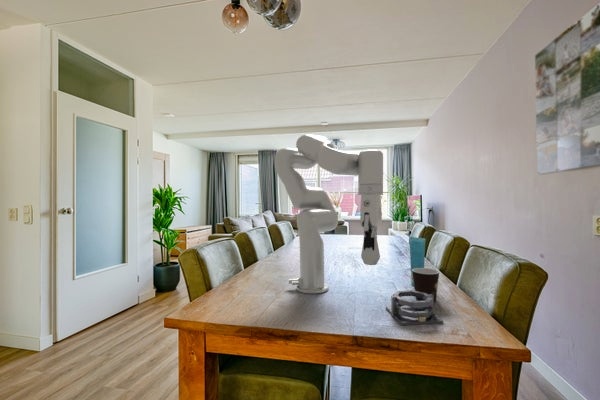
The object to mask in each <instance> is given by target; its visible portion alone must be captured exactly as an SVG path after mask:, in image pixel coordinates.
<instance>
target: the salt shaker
mask: <svg viewBox="0 0 600 400" xmlns="http://www.w3.org/2000/svg"><path fill="white" fill-rule="evenodd" d="M369 227H372V225H369ZM378 228H379V227H377V228H375V227H374V235H373V237H375V242H374V251H373V250H372V247H371V248H366V249H365V250H364V240H362V241H363V244H362V248H361V254H360V257H361V260H362V262H363V264H364V265H367V266H376V265H378V263H379V261H380V258H381V254H380V250H379V243H378V236H377V235H376V231H375V230H378ZM370 230H371V229H370ZM376 236H377V237H376Z"/></svg>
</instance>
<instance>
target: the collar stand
mask: <svg viewBox="0 0 600 400" xmlns="http://www.w3.org/2000/svg"><path fill="white" fill-rule="evenodd" d="M402 297H415V298H416V297H419V298H423V299H424V300H425V301H418V300H416V299H405V298H402ZM390 302H391V305H387V306H385V310H387V312H388V313H389V314H390V315H391V318H394V319H395V320H396V321H397V322H398V324H400V325H401V326H414V325H415V326H416V325H417V326H419V325H437V324H444V320H443V319H442V318H441V317H439V316H438V315H437V314H436V313H435V305H434V303H435V302H434V295H432V294H426V293H423V292H418V291H415V290H397V291H396V292H394V293H393V294H392V295H391V296H390Z"/></svg>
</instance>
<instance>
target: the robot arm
mask: <svg viewBox="0 0 600 400" xmlns="http://www.w3.org/2000/svg"><path fill="white" fill-rule="evenodd" d="M316 165H318V166H319V167H320V168H321V169H323V170H325V171H327V172H329V173H331V174H334V175H339V176H356V177H357V178H358V181H357V183H358V184H357V187H358V189H357V190H358V192H357V194H358V196H360V210H359V213H360V215H359V216H360V217H359V219H360V226H361V227H362V228H363V241H364V250H365V249H366V248H371V247H372V250H373V251H374V242H375V237H373V235H374V227H375V228H377V227H378V228H379V227H380V226H381V225H382V223H383V221H382V219H383V217H382V215H383V213H382V197H381V196H383V195H384V153H383V152H382V151H381V150H379V149H364V150H362V151H359V152H351V151H343V150H338V149H335V146H334V144H333V143H332V142H331V141H330V140H329V139H328V138H327V137H326V136H322V135H314V134H309V133H308V134H303V135H301V136H299V137H298V138H297V140H296V142H295V148H293V147H291V148H290V147H285V148H280V149H279V150H278V151H277V152H276V153H275V157H274V168H275V171H276V173H277V176H278V177H279V180H280V182H282V184H283V185H284V188H285V190H286V193H287V195H288V197H289V199H290V201H291V204H292V206H293V207H294V209H296V210H299V211H300V212H299V213H298V214H297V217H296V227H297V232H298V238H299V240H298V242H299V276H298V277H297V278H289V279H288V284H289V285H291V286H296V290H297V291H298V292H300V293H301V294H302V293H303V294H310V295H311V294H312V295H313V294H321V293H325V292H327V291H328V290H329V284H327V283H326V282H325V245H324V240H323V238H322V235H320V233H324V232H331V231H333V230H335V229H336V228H337V226H338V224H339V218H338V213H337V211H336V209H335V207H334V206H333V203H332V201H331V199H330V197H329V196H328V194H327V192H326V191H325V190H324V189H323V188H320V187H314V186H312V187H311V186H308V185H307V184H306V182H305V180H304V178H303V176H302V175H301V174H300V173H299V172H298V171H297V170H295V169H299V170H300V169H301V170H308V169H311V168H313V167H315V166H316ZM369 225H372V227H369ZM378 228H377V230H378ZM370 229H371V230H370ZM377 230H375V231H376V237H377V238H378V236H377V234H378V231H377Z"/></svg>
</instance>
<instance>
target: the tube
mask: <svg viewBox="0 0 600 400" xmlns="http://www.w3.org/2000/svg"><path fill="white" fill-rule="evenodd" d="M426 240H427V239H426V238H423V237H417V236H416V237H415V236H408V243H409V257H410V277H411V278H410V280H411V281H410V283H411V285H412V286H414V281H413V273H412V269H414V268H425V259H426V257H425V254H426V253H425V252H426Z"/></svg>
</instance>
